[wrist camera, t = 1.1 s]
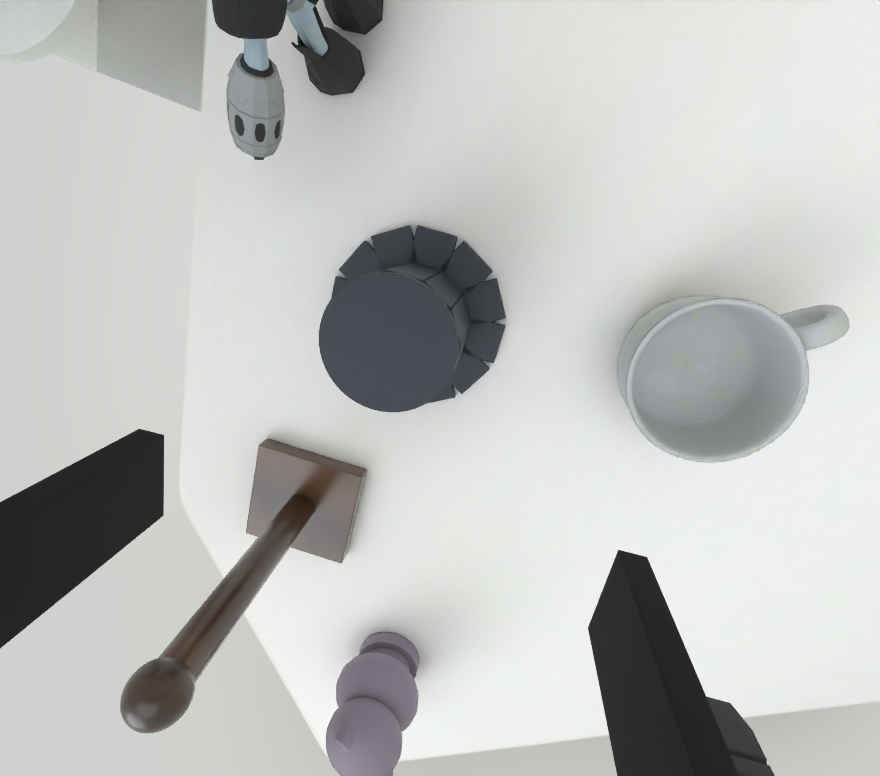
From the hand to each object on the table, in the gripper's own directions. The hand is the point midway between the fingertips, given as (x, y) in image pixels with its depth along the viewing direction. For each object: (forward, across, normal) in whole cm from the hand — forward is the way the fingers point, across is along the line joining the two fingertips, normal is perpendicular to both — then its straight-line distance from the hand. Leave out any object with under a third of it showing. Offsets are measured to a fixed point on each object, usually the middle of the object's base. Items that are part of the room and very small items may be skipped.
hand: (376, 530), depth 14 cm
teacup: (+28, +18, +3) cm, 33 cm away
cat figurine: (+28, 0, -36) cm, 45 cm away
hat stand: (+28, -12, -19) cm, 36 cm away
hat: (+28, -4, 0) cm, 28 cm away
